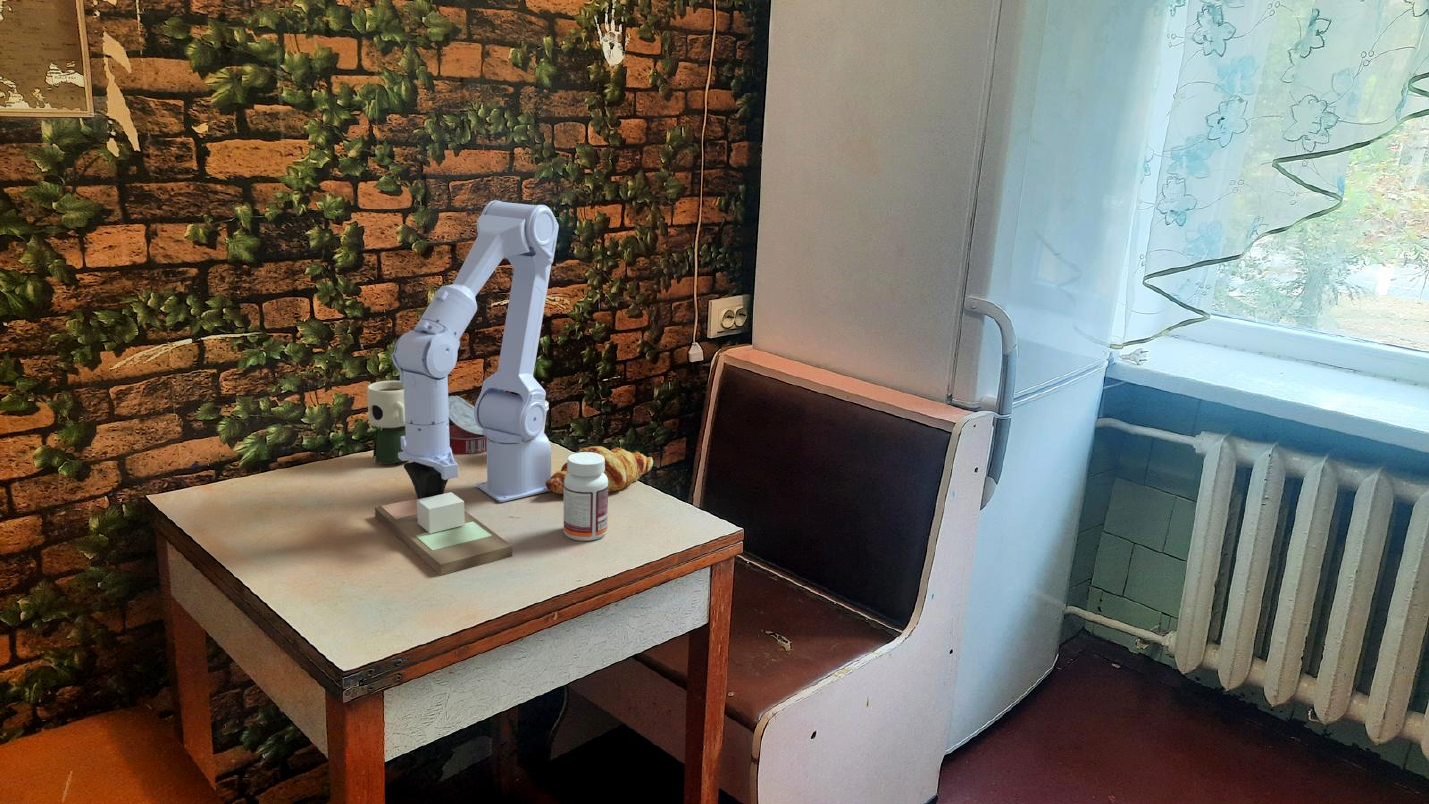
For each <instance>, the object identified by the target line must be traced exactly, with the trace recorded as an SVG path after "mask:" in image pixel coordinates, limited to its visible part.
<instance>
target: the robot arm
mask: <svg viewBox="0 0 1429 804" xmlns="http://www.w3.org/2000/svg"><path fill="white" fill-rule="evenodd" d="M559 226H560V225H559V223H558V221H557V219H556V217H555V215H554V213H553V211H552V209H551V208H549V206H547V205H545V204H537V205H536V204H535V205H534V204H525V203H514V202H506V201H502V200H495V199H494V200H491V201H488V203H487V204H486V205H485V206H484V208H483V209H482V213H481V215H479V217H478V218H477V220H476V231H477V237H476V239H475V240H474V242H473V244H472V247H471V248H470V251H469V252H468V254H467V256H466V258H465V260H464V262H463V263H462V266H461V267H460V269H459V271H458V273H457V276H456V277H455V279H454V281H453V283H452V284H448V285H443V286H440V288H439V289H437V290H436V291H435V293H434V295H433V298H432V300H431V302H429V304H428V306H427V307H426V310H425V311H424V313H423V314H422V315H421V317H420V319H419V321H418V322H417V324H416V325H415V327H414V328H413V330H409V331H408V332H405V333H404V334H402V335H401V336H400V337H399V338H398V339H397V341H396V343H395V345H394V350H393V352H392V353H391V360H392V363H393V365H394V367H395V368H396V369H397V371H398V374H399V381H401V382H402V384H403V386H404V408H405V431H406V436H401V449H402V450H403V452H399V453H398V458H399V459H401V460H402V461H401V462H405V463H404V464H403V469H404V470H405V472H406V473H407V475H408V476H409V478H410V480H411V483H412V485H413V489H414V491H415V495H416V499H417V498H418V499H422V498H427V497H431V496H436V495H441V494H445V493H444V492H445V489H446V486H447V483H448V481H449V480H451V479H457V478H459V464H458V463H457V462H456V461H455V459H454V454H453V453H452V450H451V447H450V441H449V424H450V418H449V408H448V398H449V385H448V383H449V382H448V381H449V380H448V375H450V373H451V372H452V371H453V369H454V368H455V367H456V364H457V362H458V361H457V360H458V350H459V348H460V345H461V341H460V339H461V338H462V336H463V334H464V333H465V331H466V329H467V327H469V324H470V322H471V320H472V319H473V318H474V316H475V314H476V313H477V311H478V303H477V301H476V300H477V299H476V296H477V295H478V293H479V292H480V291H481V289H482V288H483V287H484V285H485V284H486V283H487V281H488V280H489V278H490V277H491V276H492V274H493V273H494V271H495V270H496V269H497V268H498V267H499V265H500V264H501V262H502V260H503V259H504V258H506V259H507V260H508V262H509V263H510V265H511V266H512V268H513V273H512V279H511V284H510V285H511V287H510V293H509V298H508V306H507V311H506V316H505V322H504V329H503V335H502V340H501V341H502V342H501V348H500V354H499V361H498V366H497V370H496V372H494V373H493V374H491V375H490V376H488V377H487V378H486V379H484V380H483V382H482V386H481V390H480V394H479V396H478V397H477V399H476V401H475V404H474V407H475V408H474V417H475V421H476V423H477V425H478V426H479V427H481V428H482V433H483V435H485V436H486V437H487V438H486V439H487V452H486V479H487V481H483V482H478V483H477V484H476V487H477V488H479V489H480V490H481V491H482V492H484V493H485V494H487V495H488V496H490V497H491V498H493V499H494V500H495V501H497V502H499V503H504V502H507V501H512V500H517V499H521V498H526V497H529V496H533V495H534V496H535V495H538V494H542V493H547V492H551V491H550V490H548V489H547V487H546V481H547V480H549V479H550V478H551V477H552V446H551V442H550V440H549V438H548V436H547V435H546V433H545V432H544V433H543V432H542V429H543V427H544V424H545V425H546V422H547V421H546V420H547V412H546V410H545V401H546V395H547V392H546V389H544V388H543V386H542V385H541V384H540V383H539V382H538V381H537V379H536V378H535V377H534V372H535V366H536V361H537V353H538V348H539V342H540V336H541V330H542V323H543V318H544V312H545V305H546V299H547V293H548V288H549V287H548V286H549V283H550V275H551V269H552V264H553V262H554V258H555V252H556V246H557V240H558V239H557V238H558V233H559V228H560V227H559ZM508 392H509V393H508ZM510 392H513V393H516V394H513V393H510ZM408 461H410V462H408Z"/></svg>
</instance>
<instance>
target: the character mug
mask: <svg viewBox="0 0 1429 804" xmlns="http://www.w3.org/2000/svg"><path fill="white" fill-rule="evenodd" d="M366 392H367V393H366V395H367V397H366V400H367V409H368V410H367V414H368V415H367V418H368V423H369V425H370V426H372V427H376V431H375V433H374V440H373V450H372V451H373V456H372V457H373V458H372V459H373V460H375V462H376V463H377V464H382V465H383V464H384V465H392V464H398V463H400V462H403V461H402V460H401V459H399V458H398V453H399V452H403V450H402V449H401V436H406V431H405V408H404V386H403V384H402V382H401V381H400V380H382V381H376V382H372V383H370V384H368V385H367V386H366Z"/></svg>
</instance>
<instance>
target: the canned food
mask: <svg viewBox="0 0 1429 804" xmlns="http://www.w3.org/2000/svg"><path fill="white" fill-rule="evenodd" d="M448 408H449V421H451V422H452V423H449V441H450V447H451V450H452V454H453V455H479V454H484V453H487V439H486V438H487V437H486V436H485V435H483V433H482V428H481V427H479V426H478V425H477V423H476V421H475V417H474V408H475V405H473V404H471V403H469V402H468V401H467V400H466V399H465V398H462V397H461V396H458V395H450V396H448Z"/></svg>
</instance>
